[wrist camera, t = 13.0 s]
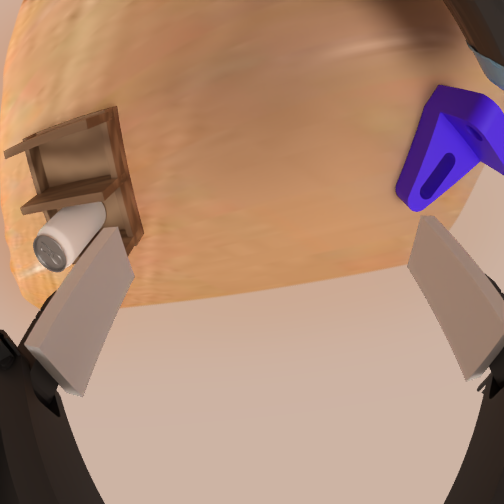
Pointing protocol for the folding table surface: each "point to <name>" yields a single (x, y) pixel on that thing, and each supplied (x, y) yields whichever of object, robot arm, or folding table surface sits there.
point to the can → (68, 235)
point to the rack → (83, 172)
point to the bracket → (450, 144)
